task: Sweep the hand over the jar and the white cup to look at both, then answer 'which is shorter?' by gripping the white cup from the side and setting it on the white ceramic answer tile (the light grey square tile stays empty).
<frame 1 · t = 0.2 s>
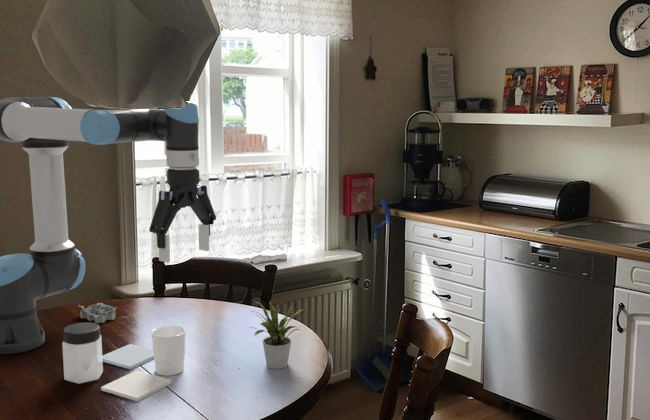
hand: (185, 255, 168), 28 cm above the table, tool pointing down, fingers open, 13 cm apart
light grey square tile: (130, 357, 177), on the table
jar: (84, 377, 166), on the table
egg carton: (98, 318, 208), on the table
tile shorter: (136, 386, 160), on the table
house plant: (271, 364, 174), on the table
white cup: (169, 371, 169), on the table
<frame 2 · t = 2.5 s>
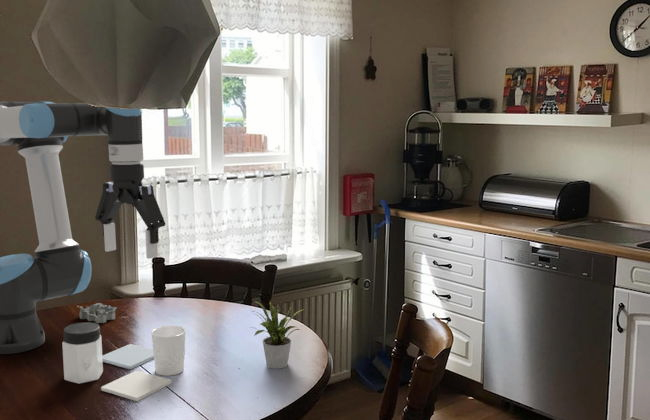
hand: (131, 254, 162), 29 cm above the table, tool pointing down, fingers open, 13 cm apart
nothing on the table moved.
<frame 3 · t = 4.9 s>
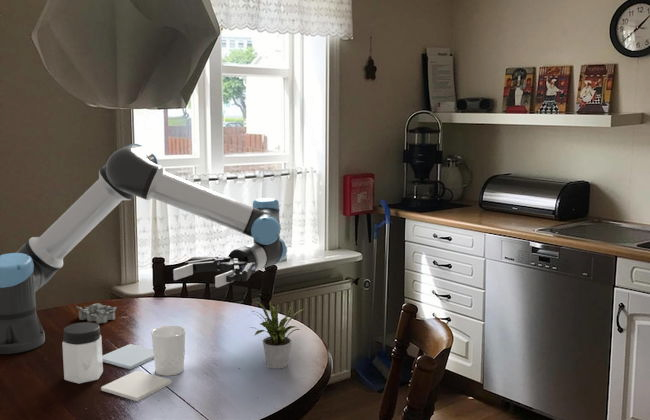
hand: (194, 278, 174), 21 cm above the table, tool horizontal, fingers open, 13 cm apart
nothing on the table moved.
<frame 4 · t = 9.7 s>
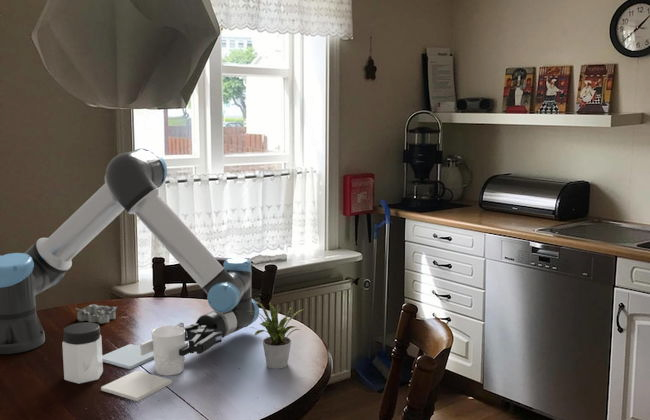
hand: (154, 353, 164), 6 cm above the table, tool horizontal, fingers closed on white cup, 8 cm apart
white cup: (169, 371, 169), on the table, touching gripper
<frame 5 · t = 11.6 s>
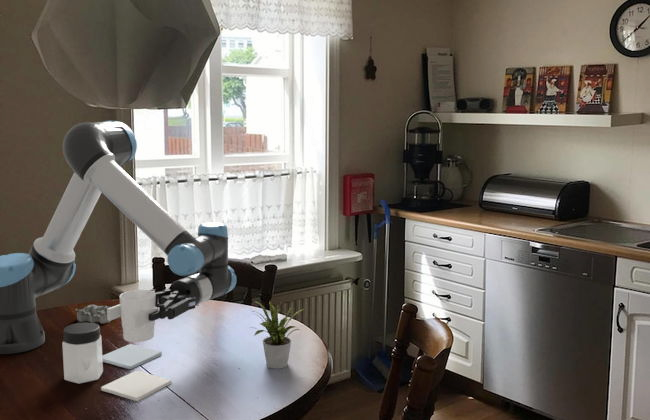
hand: (122, 317, 153), 18 cm above the table, tool horizontal, fingers closed on white cup, 8 cm apart
white cup: (139, 338, 159), point 11 cm above the table, touching gripper
when the fingers open (8 cm above the table, at t = 14.0 s): white cup stays where it is, resting on tile shorter.
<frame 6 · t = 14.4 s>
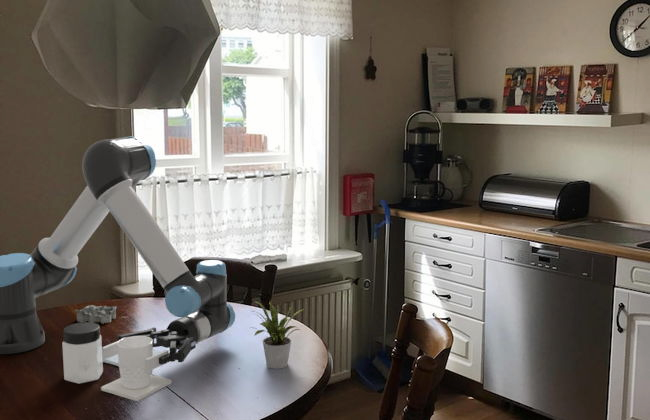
hand: (124, 359, 156), 8 cm above the table, tool horizontal, fingers open, 13 cm apart
white cup: (136, 384, 160), point 1 cm above the table, touching tile shorter
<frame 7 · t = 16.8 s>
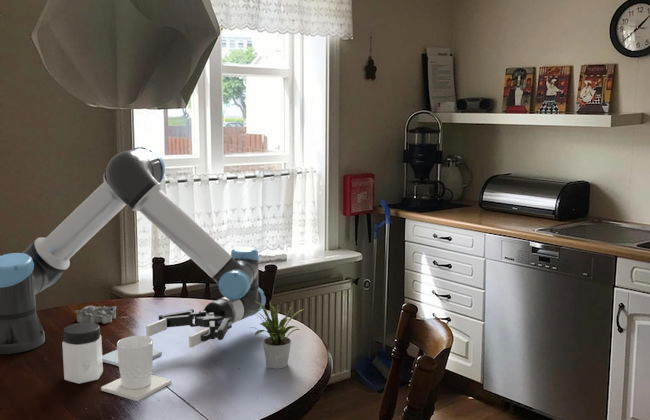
hand: (168, 336, 168), 9 cm above the table, tool horizontal, fingers open, 13 cm apart
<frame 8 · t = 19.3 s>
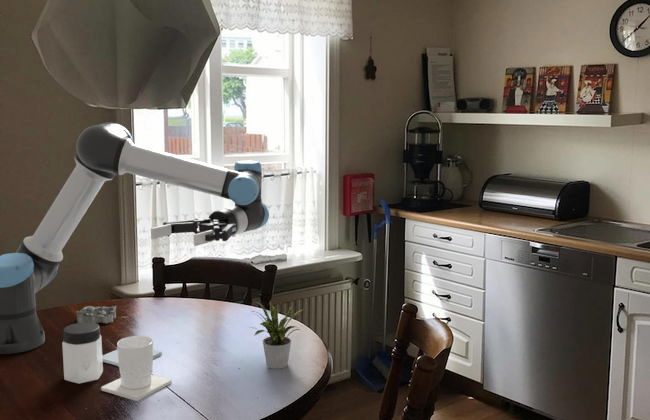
hand: (172, 237, 169), 32 cm above the table, tool horizontal, fingers open, 13 cm apart
at the end: white cup inside the target area on the tile shorter (0.1 cm from its centre), point 0.6 cm above the tile shorter's base; white cup tilted 0°; the gripper is holding nothing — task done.
